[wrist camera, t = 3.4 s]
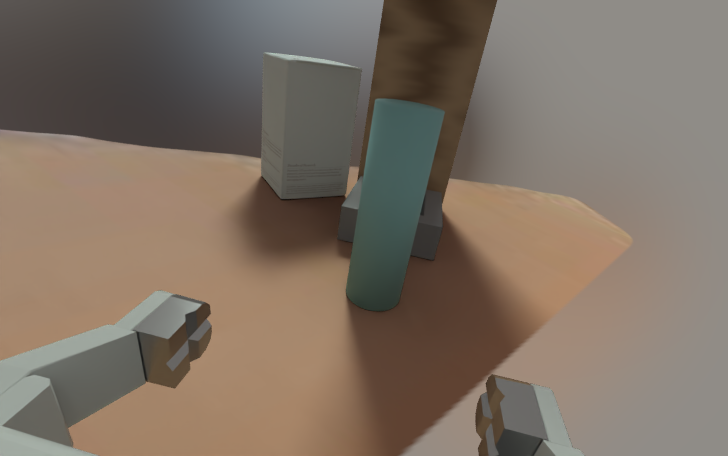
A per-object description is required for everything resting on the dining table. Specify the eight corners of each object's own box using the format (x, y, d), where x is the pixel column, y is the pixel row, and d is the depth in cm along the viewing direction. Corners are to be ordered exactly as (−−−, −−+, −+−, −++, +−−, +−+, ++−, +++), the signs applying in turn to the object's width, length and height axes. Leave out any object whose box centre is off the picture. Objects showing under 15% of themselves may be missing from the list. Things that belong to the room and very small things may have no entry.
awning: (320, 255, 27) (362, -125, 17) (359, 190, 40) (395, -45, 30) (439, 282, 26) (555, -102, 16) (438, 206, 39) (501, -30, 29)
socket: (337, 239, 29) (341, 205, 28) (356, 203, 36) (360, 176, 35) (433, 260, 29) (442, 227, 27) (434, 220, 36) (441, 192, 34)
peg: (340, 303, 22) (369, 103, 17) (352, 272, 25) (380, 96, 20) (396, 316, 22) (445, 117, 16) (401, 283, 25) (444, 107, 20)
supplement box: (347, 196, 38) (365, 67, 32) (279, 201, 34) (285, 57, 29) (320, 172, 43) (331, 59, 38) (259, 174, 40) (261, 49, 34)
